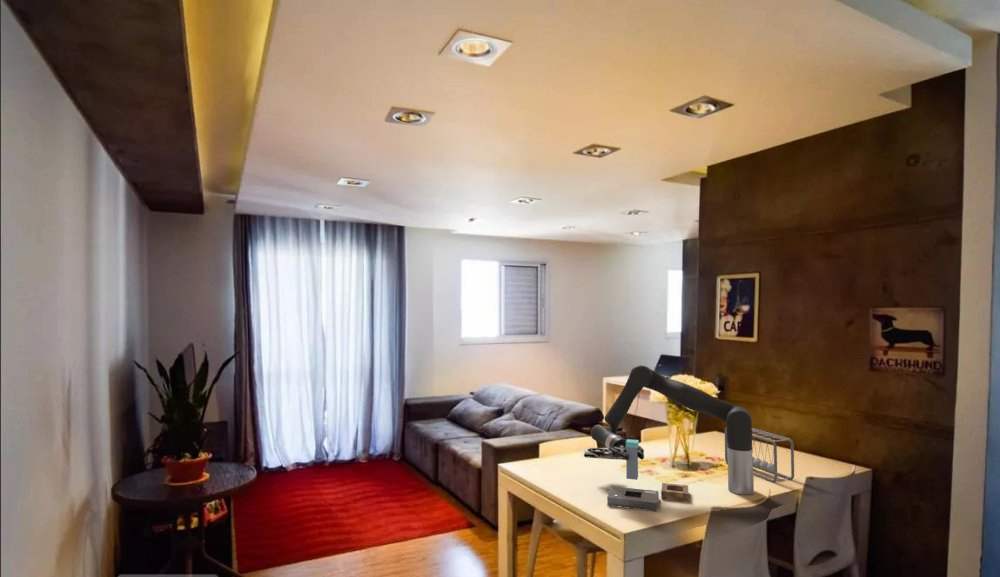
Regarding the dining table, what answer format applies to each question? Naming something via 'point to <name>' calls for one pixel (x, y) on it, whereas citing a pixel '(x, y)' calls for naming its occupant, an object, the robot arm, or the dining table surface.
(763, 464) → the newton's cradle
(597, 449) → the graphics card
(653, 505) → the port panel
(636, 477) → the plug
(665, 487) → the holster
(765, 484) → the dining table surface
